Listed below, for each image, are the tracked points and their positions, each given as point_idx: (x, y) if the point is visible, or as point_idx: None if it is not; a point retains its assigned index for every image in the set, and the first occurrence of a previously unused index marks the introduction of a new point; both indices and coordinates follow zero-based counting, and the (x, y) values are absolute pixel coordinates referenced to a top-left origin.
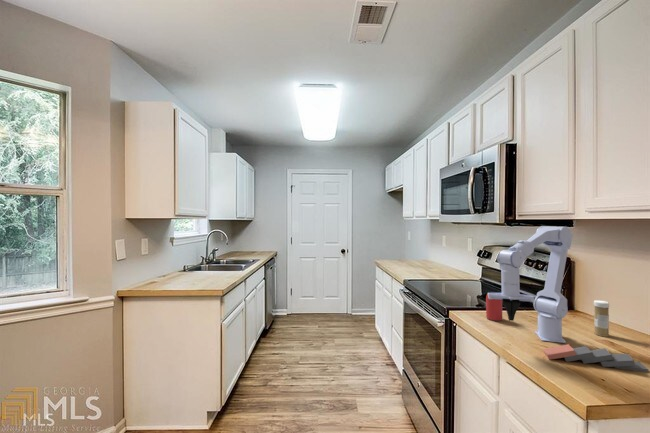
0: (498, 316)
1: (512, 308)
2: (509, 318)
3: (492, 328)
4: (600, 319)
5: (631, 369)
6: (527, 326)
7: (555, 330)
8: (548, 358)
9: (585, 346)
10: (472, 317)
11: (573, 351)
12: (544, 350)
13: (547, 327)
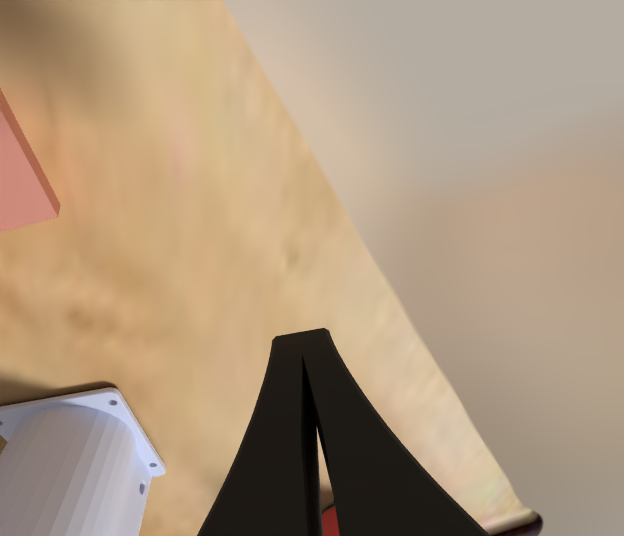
0: (338, 529)
1: (307, 531)
2: (331, 344)
3: None
4: None
5: None
6: (206, 505)
7: (5, 472)
8: (3, 99)
9: None
10: (448, 493)
11: None
12: (38, 189)
13: (50, 482)
